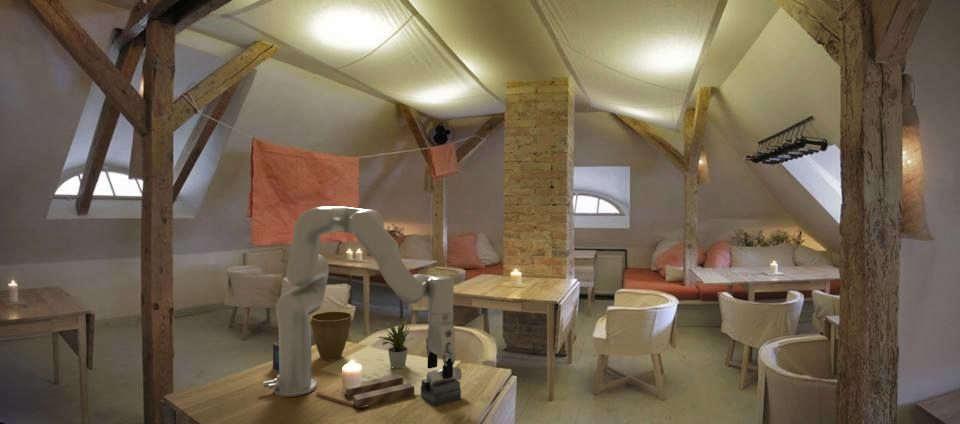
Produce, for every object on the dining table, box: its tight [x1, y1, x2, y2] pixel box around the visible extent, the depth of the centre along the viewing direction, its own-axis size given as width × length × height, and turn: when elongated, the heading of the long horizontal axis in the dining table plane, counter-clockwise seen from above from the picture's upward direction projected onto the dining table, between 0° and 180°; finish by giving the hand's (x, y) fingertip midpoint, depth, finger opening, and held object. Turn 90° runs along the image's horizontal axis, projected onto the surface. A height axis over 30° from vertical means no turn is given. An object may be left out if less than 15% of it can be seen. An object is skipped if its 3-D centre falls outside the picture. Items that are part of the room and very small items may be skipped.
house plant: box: [377, 320, 416, 369], centre depth 168 cm, size 14×14×16 cm
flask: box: [272, 341, 279, 372], centre depth 163 cm, size 9×3×11 cm, turn 68°
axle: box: [426, 366, 463, 386], centre depth 141 cm, size 10×4×4 cm
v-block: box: [420, 378, 462, 407], centre depth 141 cm, size 9×9×5 cm
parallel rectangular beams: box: [345, 373, 415, 410], centre depth 143 cm, size 18×12×3 cm, turn 123°
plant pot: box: [310, 311, 353, 361], centre depth 176 cm, size 15×15×16 cm
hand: (439, 372), depth 141 cm, fingers open, 9 cm apart
